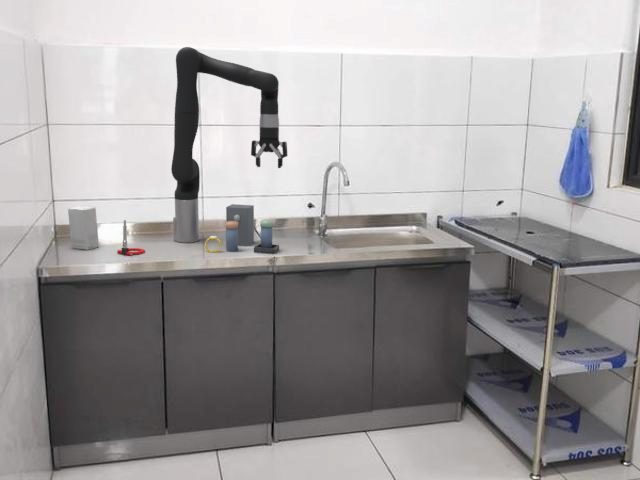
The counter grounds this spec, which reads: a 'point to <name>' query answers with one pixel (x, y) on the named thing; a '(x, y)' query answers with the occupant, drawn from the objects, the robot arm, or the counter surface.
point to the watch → (213, 238)
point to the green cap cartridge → (266, 233)
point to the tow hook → (126, 250)
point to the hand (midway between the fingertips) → (269, 167)
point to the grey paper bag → (83, 227)
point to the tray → (266, 249)
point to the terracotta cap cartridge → (231, 236)
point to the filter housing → (242, 222)
